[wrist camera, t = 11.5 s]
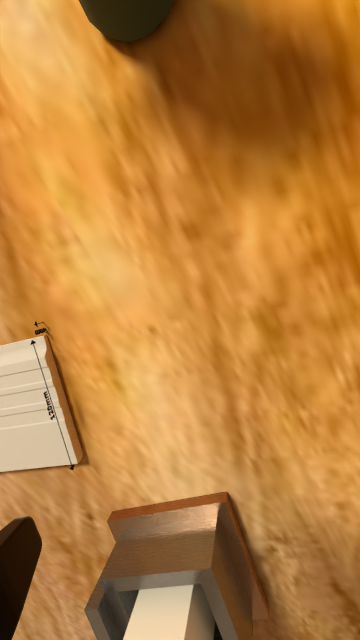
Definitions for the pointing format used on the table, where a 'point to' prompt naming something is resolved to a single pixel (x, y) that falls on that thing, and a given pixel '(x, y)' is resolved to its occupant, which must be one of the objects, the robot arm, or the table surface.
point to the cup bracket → (179, 565)
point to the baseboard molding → (34, 409)
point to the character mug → (126, 17)
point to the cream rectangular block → (171, 615)
